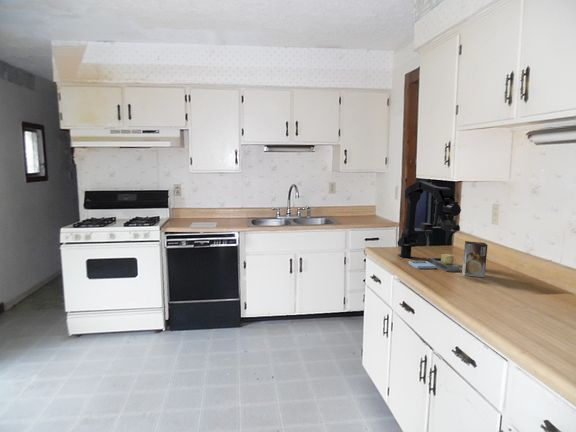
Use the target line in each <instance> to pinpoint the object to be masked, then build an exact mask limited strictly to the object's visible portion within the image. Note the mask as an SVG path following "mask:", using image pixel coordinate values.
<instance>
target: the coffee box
mask: <svg viewBox="0 0 576 432" xmlns="http://www.w3.org/2000/svg"><path fill="white" fill-rule="evenodd" d="M487 255H488V244H487V243H485V242H481V241H467V240H464V249H463V258H462V259H463V261H462V269H461V270H462V271H461V273H462V275H464V277H465V276H466V277H475V278H476V277H477V278H478V277H479V278H485V277H486V267H487V266H486V265H487Z"/></svg>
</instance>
